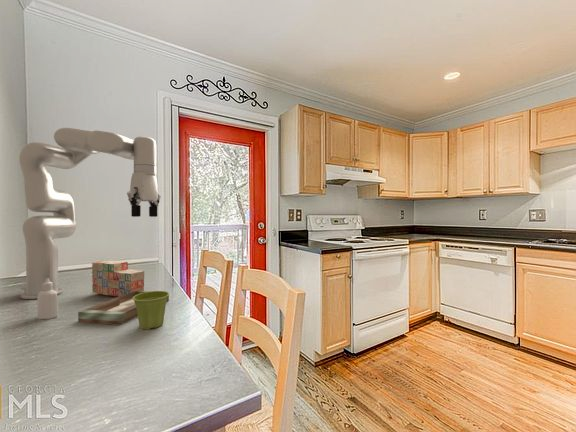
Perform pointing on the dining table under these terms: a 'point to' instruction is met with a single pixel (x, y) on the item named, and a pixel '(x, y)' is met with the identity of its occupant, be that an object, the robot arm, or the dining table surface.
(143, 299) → the plant pot
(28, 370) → the dining table surface
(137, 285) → the stack of blocks
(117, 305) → the divided wooden tray
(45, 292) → the eye dropper bottle
